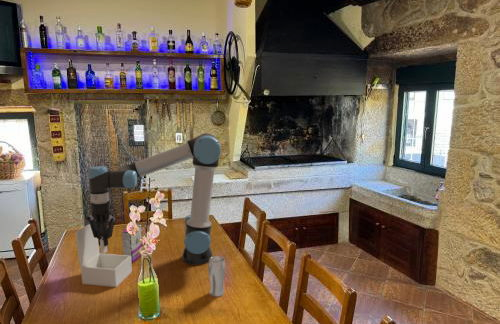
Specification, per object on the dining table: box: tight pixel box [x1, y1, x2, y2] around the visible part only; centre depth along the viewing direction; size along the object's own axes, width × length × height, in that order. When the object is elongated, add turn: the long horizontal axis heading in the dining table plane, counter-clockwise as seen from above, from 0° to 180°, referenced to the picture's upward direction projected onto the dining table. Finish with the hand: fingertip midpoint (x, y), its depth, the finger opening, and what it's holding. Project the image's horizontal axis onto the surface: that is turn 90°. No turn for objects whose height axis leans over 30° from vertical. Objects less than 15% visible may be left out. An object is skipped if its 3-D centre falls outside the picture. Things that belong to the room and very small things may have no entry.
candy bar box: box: [121, 224, 143, 264], centre depth 176 cm, size 11×5×16 cm, turn 169°
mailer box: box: [80, 252, 133, 288], centre depth 157 cm, size 16×14×8 cm
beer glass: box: [207, 255, 226, 298], centre depth 145 cm, size 7×7×15 cm
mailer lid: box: [74, 221, 100, 268], centre depth 157 cm, size 16×14×1 cm
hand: (104, 252), depth 156 cm, fingers closed
